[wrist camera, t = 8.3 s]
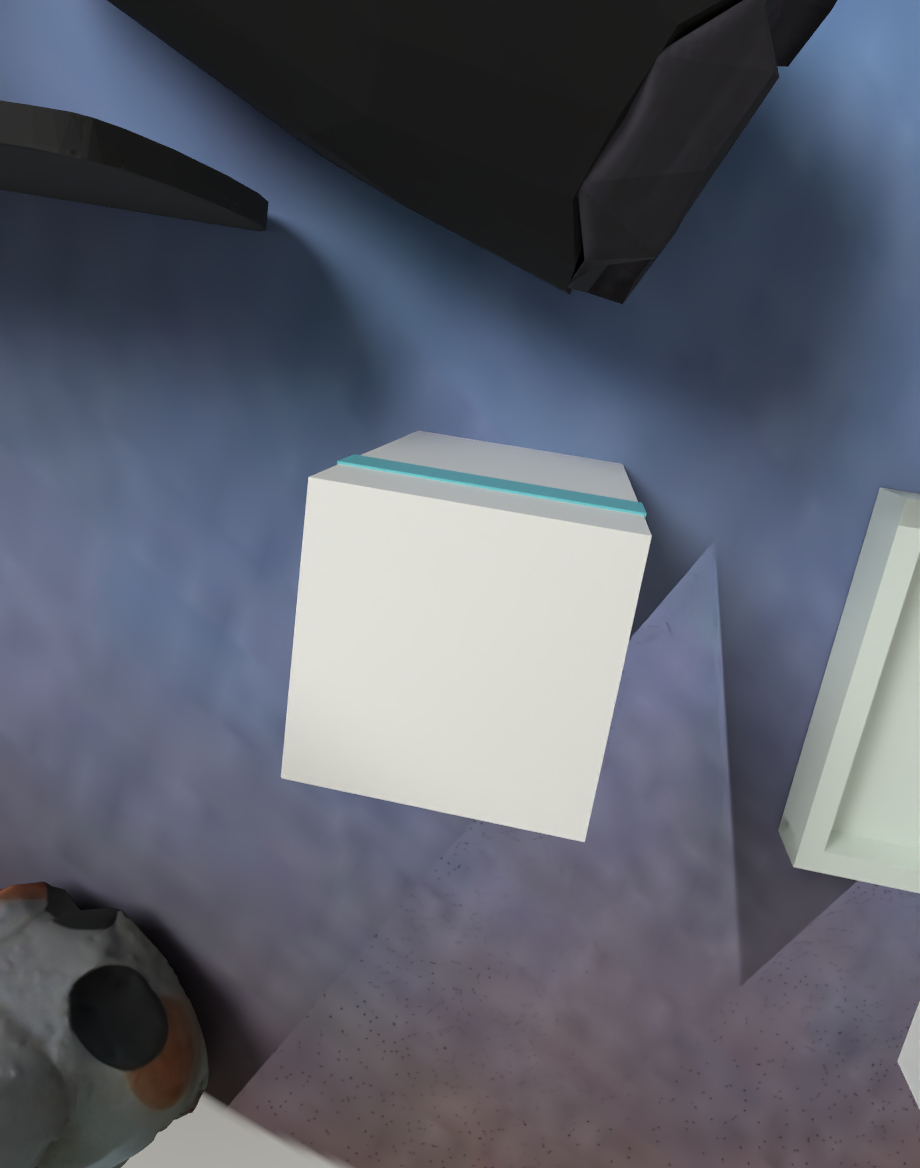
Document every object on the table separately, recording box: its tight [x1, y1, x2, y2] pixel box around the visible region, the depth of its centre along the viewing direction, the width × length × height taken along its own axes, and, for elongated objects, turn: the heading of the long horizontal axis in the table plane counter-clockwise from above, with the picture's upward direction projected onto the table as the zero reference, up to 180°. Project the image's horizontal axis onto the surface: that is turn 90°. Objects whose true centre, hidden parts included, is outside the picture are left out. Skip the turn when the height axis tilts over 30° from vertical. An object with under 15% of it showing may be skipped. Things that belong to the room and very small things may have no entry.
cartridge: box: [281, 431, 652, 842], centre depth 19 cm, size 6×6×10 cm
